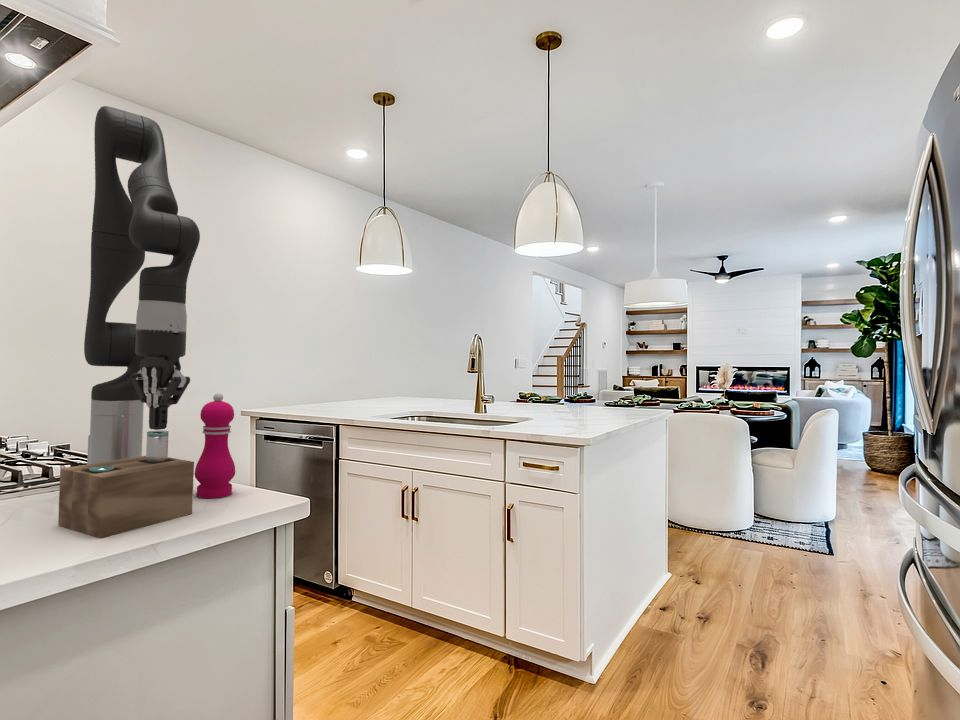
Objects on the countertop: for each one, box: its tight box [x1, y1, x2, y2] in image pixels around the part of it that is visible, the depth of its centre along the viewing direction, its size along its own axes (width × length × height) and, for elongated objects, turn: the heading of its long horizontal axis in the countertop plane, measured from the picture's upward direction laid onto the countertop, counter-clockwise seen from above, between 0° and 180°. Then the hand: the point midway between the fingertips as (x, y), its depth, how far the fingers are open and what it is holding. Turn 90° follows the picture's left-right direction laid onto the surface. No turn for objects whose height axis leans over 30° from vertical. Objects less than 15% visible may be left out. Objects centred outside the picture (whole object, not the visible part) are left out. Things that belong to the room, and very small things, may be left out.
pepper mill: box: [194, 392, 236, 499], centre depth 107 cm, size 7×7×20 cm
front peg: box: [89, 466, 114, 474], centre depth 85 cm, size 3×3×8 cm
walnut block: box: [57, 455, 195, 539], centre depth 90 cm, size 11×15×9 cm
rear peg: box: [145, 430, 169, 464], centre depth 94 cm, size 3×3×8 cm
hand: (157, 428), depth 93 cm, fingers closed
